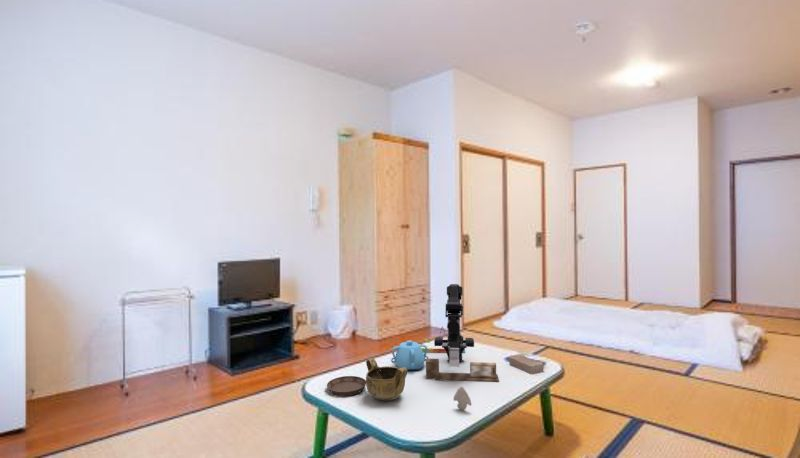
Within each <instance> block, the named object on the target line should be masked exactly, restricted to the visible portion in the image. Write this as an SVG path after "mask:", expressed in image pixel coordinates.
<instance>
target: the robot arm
mask: <svg viewBox="0 0 800 458" xmlns="http://www.w3.org/2000/svg"><path fill="white" fill-rule="evenodd" d="M463 294H464V293H463V286H461V285H460V284H457V283H455V284H454V283H452V284H451V283H450V284H449V285H448V286H447V287H446V296H447V298H448V299H447V301H446V303H445V318H447V324H446V327H447V336H448V338H446V339H444V337H442V336H440V337H439V336H438V337H437V336H436V337H435V339H434V341H433V343H434V347H441V349H445V351H446V353H445V354H446V355H447V362H449V359H450V352H449V351H450V348H459V364H460V363H462V362H463V363H464V362H465V360H464V359H463V353H462V352H463V350H465V351H466V349H467V348H468V347H469V348H474V347H475V340H474V338H473V337H465V338H464V335H462V334H461V318H462V317H463V316H464V306H463V303H461V300H462V296H463Z"/></svg>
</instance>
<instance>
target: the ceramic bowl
mask: <svg viewBox="0 0 800 458" xmlns="http://www.w3.org/2000/svg"><path fill="white" fill-rule="evenodd" d="M365 364H366V367H367V368H366V369H367V370H368V371H367V373H366V375H365V380H366V385H365V387H366V389H367V392H368V393H369V395H370V396H371V397H373V398H374V399H376V400H379V401H385V402H389V401H392V400H395V399H397V398H399V396H400V395H401V394H402V393H403V391H404V389H405V386H406V378H407V375H408V369H406V368H405V367H403V368H399V367H398V366H397V367H396V366H389V365H388V366H387V365H386V366H379V365H378V363H377V360H376V359H375V358H374V357H372V358H369V359H367V360H366V361H365Z"/></svg>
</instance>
